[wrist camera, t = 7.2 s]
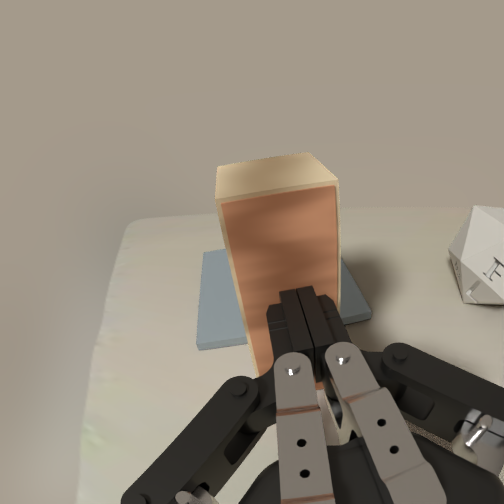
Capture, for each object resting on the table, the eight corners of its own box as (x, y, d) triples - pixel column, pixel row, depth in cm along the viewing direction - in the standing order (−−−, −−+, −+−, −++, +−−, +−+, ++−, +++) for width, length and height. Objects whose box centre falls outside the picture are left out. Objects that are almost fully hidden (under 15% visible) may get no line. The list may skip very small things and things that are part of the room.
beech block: (319, 335, 24) (308, 152, 17) (336, 387, 19) (339, 180, 12) (255, 347, 24) (217, 166, 17) (262, 401, 19) (214, 200, 12)
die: (424, 281, 28) (446, 242, 19) (469, 218, 28) (495, 163, 19) (484, 335, 23) (529, 317, 15) (524, 267, 24) (569, 226, 15)
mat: (325, 237, 36) (325, 231, 36) (370, 318, 24) (371, 311, 24) (205, 258, 36) (203, 252, 36) (198, 350, 24) (196, 343, 24)
